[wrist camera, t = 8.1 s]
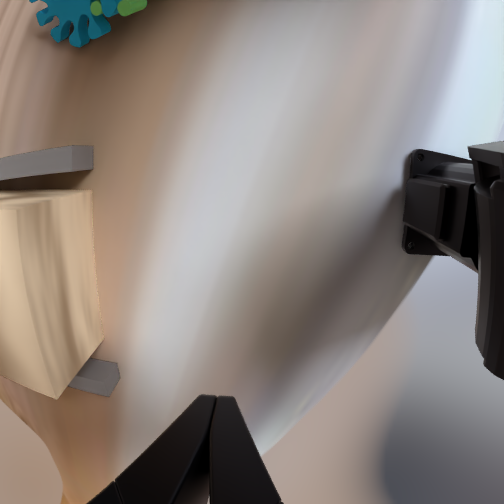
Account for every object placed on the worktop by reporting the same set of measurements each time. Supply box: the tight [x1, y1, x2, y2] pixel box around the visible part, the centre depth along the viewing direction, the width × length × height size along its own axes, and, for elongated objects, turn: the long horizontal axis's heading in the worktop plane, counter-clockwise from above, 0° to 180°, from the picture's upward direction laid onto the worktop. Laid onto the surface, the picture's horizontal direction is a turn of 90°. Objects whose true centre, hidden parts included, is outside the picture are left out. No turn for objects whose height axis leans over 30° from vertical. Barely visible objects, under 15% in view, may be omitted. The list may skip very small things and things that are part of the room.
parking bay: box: [0, 145, 120, 397], centre depth 18 cm, size 12×18×2 cm
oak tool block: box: [0, 189, 104, 399], centre depth 16 cm, size 10×11×8 cm
